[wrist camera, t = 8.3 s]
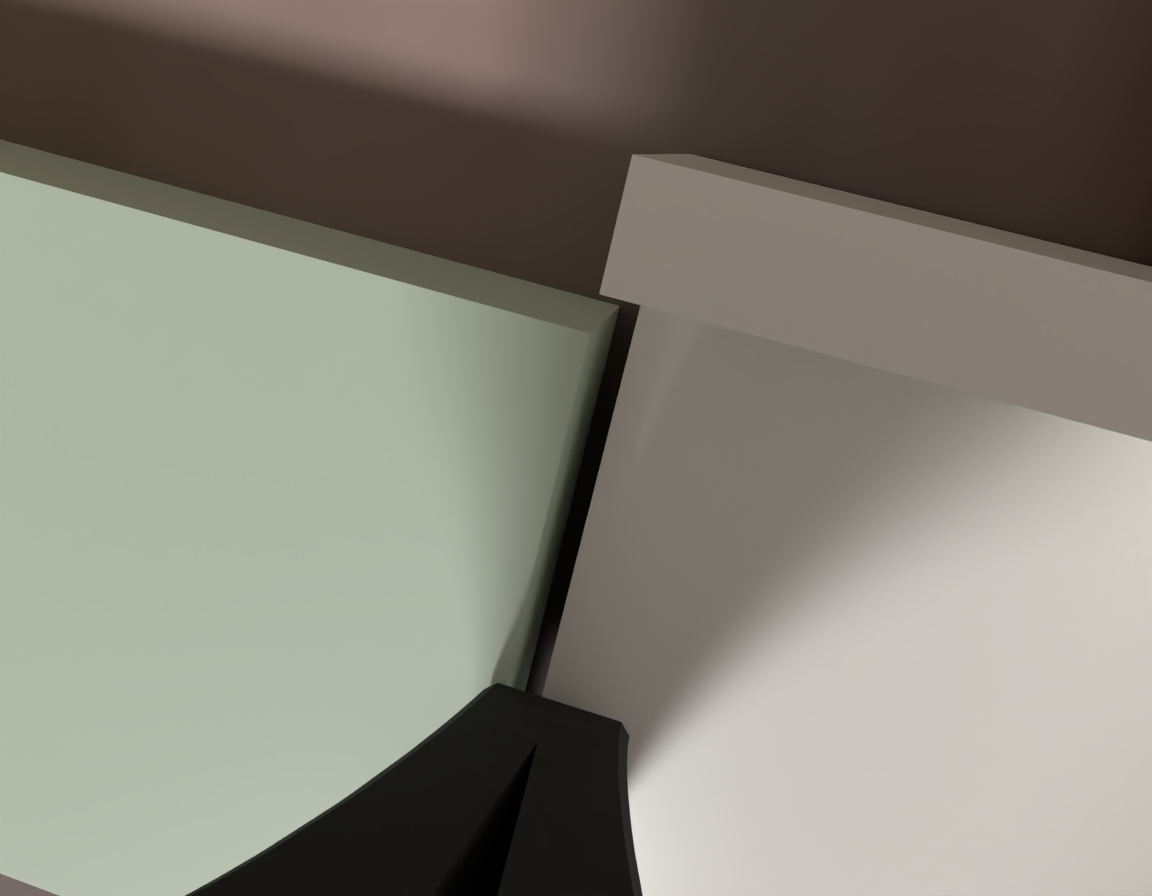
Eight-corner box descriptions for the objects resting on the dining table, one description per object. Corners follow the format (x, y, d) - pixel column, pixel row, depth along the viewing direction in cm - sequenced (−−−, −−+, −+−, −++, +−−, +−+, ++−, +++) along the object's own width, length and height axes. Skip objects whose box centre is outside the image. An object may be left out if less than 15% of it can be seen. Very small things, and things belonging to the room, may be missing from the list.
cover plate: (479, 899, 12) (423, 1033, 10) (-243, 641, 14) (-407, 719, 12) (627, 298, 10) (590, 334, 8) (-288, 54, 11) (-509, 32, 9)
